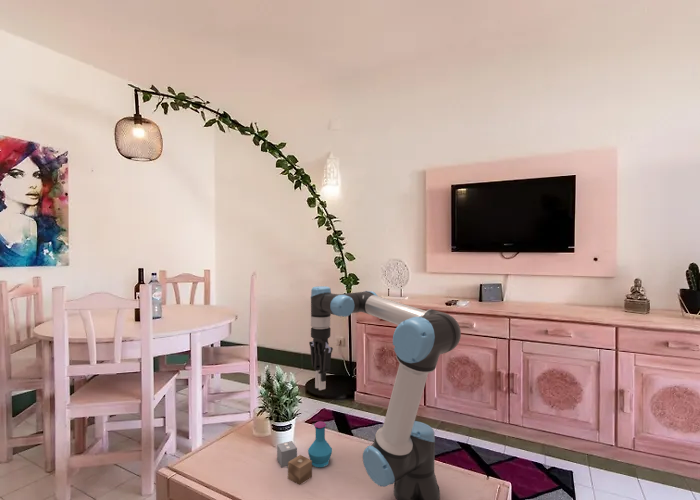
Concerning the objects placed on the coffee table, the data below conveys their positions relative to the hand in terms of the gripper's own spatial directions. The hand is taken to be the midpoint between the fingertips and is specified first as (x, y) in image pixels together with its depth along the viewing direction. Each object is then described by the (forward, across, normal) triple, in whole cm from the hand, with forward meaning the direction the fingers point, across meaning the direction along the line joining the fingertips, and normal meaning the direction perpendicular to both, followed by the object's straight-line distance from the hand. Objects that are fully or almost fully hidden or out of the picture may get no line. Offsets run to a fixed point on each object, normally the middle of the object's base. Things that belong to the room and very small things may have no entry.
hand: (320, 388), depth 144 cm
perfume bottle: (+29, 0, 0) cm, 29 cm away
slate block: (+29, +8, +10) cm, 31 cm away
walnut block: (+29, -4, +11) cm, 31 cm away
